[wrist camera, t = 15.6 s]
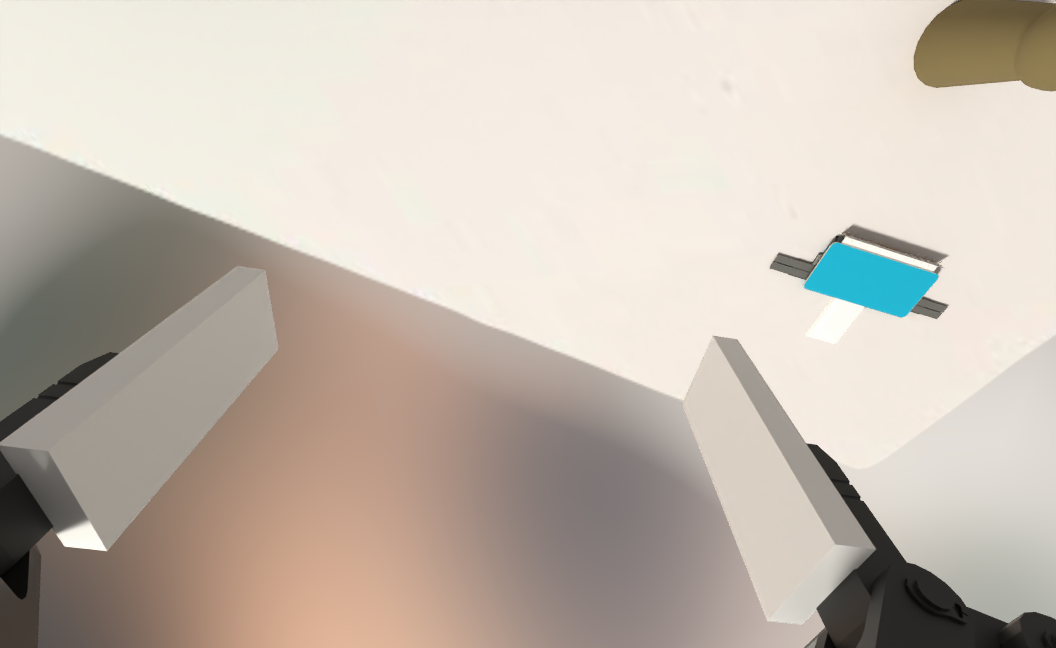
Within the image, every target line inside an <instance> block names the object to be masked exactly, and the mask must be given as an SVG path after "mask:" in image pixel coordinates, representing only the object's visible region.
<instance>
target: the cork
mask: <svg viewBox="0 0 1056 648" xmlns="http://www.w3.org/2000/svg"><path fill="white" fill-rule="evenodd" d="M914 70H915V72H916V74H917V77H918V79H919V80H920V81H922V82H923V83H924V84H925V85H928V86H932V87H936V88H939V87H950V86H962V85H973V84H984V83H996V82H1007V81H1019V80H1021V81H1022V82H1023V83H1024V84H1025V85H1027V86H1029V87H1031V88H1035V89H1039V90H1043V91H1056V4H1055V3H1042V2H1030V1H1018V0H961V1H959V2H957V3H954V4H952V5H950V6H949V7H947V8H946V9H945V10H943V11H942V12H941V13H940V14H938V15H937V16H936V17H935V18H934V19H933V21H932V22H931V23H930V24H929V25H928V26H927V27H926V29H925V31H924V32H923V34H922V36H921V38H920V40H919V41H918V44H917V47H916V51H915V54H914Z"/></svg>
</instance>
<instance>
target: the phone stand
mask: <svg viewBox="0 0 1056 648" xmlns="http://www.w3.org/2000/svg"><path fill="white" fill-rule="evenodd" d="M848 233H849V232H848ZM848 233H847V234H848ZM842 234H843V235H845V236H846V237H845V238H844V240H843V241H842V243H839V242H836V241H837V239H838V237H839V236H836V238H835V239H834V241H833V242H832V243H831V245H830V246H829V247H828V249H827V250H826V252H825V253H824V255H820V254H818V256H817V257H816V259H815V260H814V262H813V263H812V264H810V263H807V262H804V261H800V260H795V259H791V258H788V257H785V256H782V255H777V257H776V259H775V260H774V261H776V262H779V263H782V264H786V265H789V266H792V267H789V266H785V265H782V264H779V263H776V262H773V263H772V265H771V267H770V269H774V270H777V271H780V272H784V273H787V274H788V275H792V276H795V277H798V278H801V279H805V280H806V281H805V282H804V284H803V287H804V288H805V289H807V290H810V291H814V292H817V293H820V294H824V295H827V296H830V297H833V298H832V299H831V301H830V302H829V303H828V305H827V306H826V307H825V309H824V310H823V311H822V313H821V314H820V315H819V317H818V318H817V320H816V321H815V322H814V324H813V325H812V326H811V328H810V329H809V330H808V332H807V333H806V334H805V335H806V336H808V337H811V338H815V339H818V340H822V341H825V342H829V343H832V344H836V342H837V341H838V340H839V339H840V337H841V336H842V335H843V334H844V332H845V331H846V330H847V328H848V327H849V326H850V325H851V323H852V322H853V321H854V320H855V318H856V317H857V316H858V315H859V313H860V312H861V311H862V310H863V308H864V307H867V308H870V309H874V310H877V311H880V312H884V313H887V314H890V315H894V316H897V317H905V316H906V315H908V313H909V312H914V313H917V314H922V315H925V316H929V317H932V318H935V319H937V318H938V317H939V316H940V315H941V314H942V313H939V312H944V311H945V310H946V308H947V306H944V305H940V304H937V303H934V302H931V301H930V300H927V299H924V298H922V297H923V296H924V295H925V294H926V292H927V291H928V290H929V289H930V288H931V287H932V285H933V284H934V283H935V282H936V281H937V280H938V277H939V276H938V274H936V273H933V272H934V271H935V269H936V268H937V267H938V266H939V263H938V264H937V263H935V262H931V261H932V260H931V261H928V260H927V259H926V260H923V259H924V258H923V259H922V258H920V257H918V258H917V257H916V256H913V255H908V254H909V253H908V254H906V253H905V252H904V253H902V252H899V251H897V250H894V249H891V248H888V247H885V246H881V245H878V244H879V243H878V244H876V243H871V241H872V240H871V241H870V242H869V241H867V240H866V241H864V240H862V239H860V238H855V236H854V237H853V236H852V235H850V236H849V235H846V234H845V233H842ZM857 235H858V234H857ZM864 238H865V237H864ZM864 238H863V239H864ZM873 240H874V239H873ZM880 243H881V242H880ZM910 253H911V252H910ZM918 255H919V254H918ZM918 255H917V256H918ZM925 258H926V257H925ZM933 260H934V259H933ZM941 262H942V261H941ZM941 262H940V263H941ZM939 267H941V265H940V266H939ZM942 268H943V267H942ZM925 307H926V308H930V309H933V310H936V311H939V312H936V311H933V310H929V309H926V308H925Z"/></svg>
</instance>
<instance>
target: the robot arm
mask: <svg viewBox="0 0 1056 648" xmlns="http://www.w3.org/2000/svg"><path fill="white" fill-rule="evenodd" d="M277 350H278V342H277V337H276V331H275V325H274V319H273V313H272V308H271V301H270V296H269V289H268V283H267V277H266V271H265V270H262V269H255V268H248V267H241V266H236V267H235V268H234V269H233V270H231V271H230V272H229V273H227V274H226V275H224V276H223V277H222V278H220V279H219V280H218V281H217V282H215V283H214V284H212V285H211V286H210V287H208V288H207V289H206V290H204V291H203V292H202V293H200V294H199V295H197V296H196V297H195V298H193V299H192V300H191V301H189V302H188V303H187V304H186V305H184V306H183V307H182V308H180V309H179V310H177V311H176V312H175V313H173V314H172V315H171V316H169V317H168V318H167V319H165V320H164V321H163V322H161V323H160V324H158V325H157V326H156V327H155V328H153V329H152V330H150V331H149V332H148V333H146V334H145V335H144V336H142V337H141V338H140V339H138V340H137V341H136V342H134V343H133V344H132V345H130V346H129V347H128V348H126V349H125V350H124V351H122V352H121V353H112V352H109V353H107V354H105V355H102V356H100V357H98V358H96V359H93V360H91V361H89V362H86V363H84V364H82V365H80V366H79V367H77V368H76V369H74V370H73V371H71V372H70V373H69V374H67V375H66V376H64V377H63V378H62V379H60V380H59V381H58V384H57V385H54V384H53V385H52V386H50V387H49V388H47V389H46V390H44V391H43V392H42V393H40V394H39V397H38V398H37V399H36V398H33V399H32V400H30V401H29V402H27V403H26V404H25V405H23V406H22V407H20V408H19V409H18V410H16V411H15V412H13V413H12V414H10V415H9V416H8V417H6V418H5V419H3V420H2V421H1V422H0V648H38V626H39V599H40V574H41V573H40V572H41V554H40V552H39V549H38V547H37V545H36V543H37V542H38V541H39V540H40V539H41V538H42V537H43V536H44V535H45V534H46V533H47V532H48V531H49V530H50V529H51V528H53V530H54V531H55V533H56V534H57V536H58V537H59V539H60V540H61V542H62V543H63V545H64V546H66V547H76V548H85V549H94V550H104V551H107V550H108V549H109V548H110V547H111V546H112V544H113V543H114V542H115V541H116V540H117V539H118V537H119V536H120V535H121V534H122V533H123V531H124V530H125V529H126V528H127V527H128V526H129V524H130V523H131V522H132V521H133V520H134V519H135V517H136V516H137V515H138V514H139V513H140V511H141V510H142V509H143V508H144V507H145V506H146V504H147V503H148V502H149V500H151V498H152V497H153V496H154V495H155V494H156V493H157V491H158V490H159V489H160V488H161V487H162V485H163V484H164V483H165V482H166V481H167V480H168V478H169V477H170V476H171V475H172V474H173V473H174V471H175V470H176V469H177V468H178V467H179V466H180V464H181V463H182V462H183V461H184V460H185V458H186V457H187V456H188V455H189V454H190V453H191V451H192V450H193V449H194V448H195V447H196V445H197V444H198V443H199V442H200V441H201V440H202V438H203V437H204V436H205V435H206V434H207V433H208V431H209V430H210V429H211V428H212V427H213V426H214V424H215V423H216V422H217V421H218V420H219V418H220V417H221V416H222V415H223V414H224V412H225V411H226V410H227V409H228V408H229V407H230V405H231V404H232V403H233V402H234V401H235V399H236V398H237V397H238V396H239V395H240V394H241V392H242V391H243V390H244V389H245V388H246V387H247V385H248V384H249V383H250V382H251V381H252V379H253V378H254V377H255V376H256V375H257V374H258V372H259V371H260V370H261V369H262V368H263V367H264V365H265V364H266V363H267V362H268V361H269V359H270V358H271V357H272V356H273V355H274V354H275V352H276V351H277ZM682 405H683V407H684V410H685V412H686V415H687V417H688V420H689V422H690V425H691V428H692V430H693V433H694V435H695V438H696V440H697V443H698V446H699V448H700V451H701V453H702V456H703V458H704V461H705V463H706V466H707V469H708V471H709V474H710V476H711V479H712V481H713V484H714V486H715V489H716V492H717V494H718V497H719V499H720V502H721V504H722V507H723V509H724V512H725V515H726V517H727V519H728V522H729V525H730V527H731V530H732V532H733V535H734V537H735V540H736V543H737V545H738V548H739V550H740V553H741V555H742V558H743V560H744V563H745V565H746V568H747V571H748V573H749V576H750V578H751V581H752V583H753V586H754V589H755V591H756V594H757V596H758V599H759V601H760V604H761V606H762V609H763V612H764V614H765V617H766V619H767V621H772V622H782V623H792V624H801V625H802V624H803V623H804V622H805V621H806V620H807V619H808V618H809V617H810V616H811V615H812V614H813V613H814V612H815V611H816V610H818V613H819V615H820V617H821V619H822V621H823V623H824V625H825V628H824V629H823V630H822V631H821V632H820V633H819V634H818V635H817V636H816V637H815V638H814V639H813V640H812V641H811V642H810V643H809V644H808V645H806V646H805V648H1056V620H1055V619H1053V618H1051V617H1048V616H1046V615H1043V614H1040V613H1037V612H1028V613H1023V614H1022V615H1020V616H1019V617H1017V618H1016V619H1014V620H1013V621H1011V622H1010V623H1006V622H1003V621H1001V620H998V619H996V618H993V617H991V616H988V615H986V614H983V613H981V612H978V611H976V610H974V609H971V608H968V607H966V606H965V604H964V602H963V601H962V600H961V598H960V597H959V596H958V595H957V594H956V593H955V592H954V591H953V590H952V589H951V588H950V587H949V586H948V585H947V584H946V583H945V582H943V581H942V580H941V579H939V578H938V577H937V576H935V575H934V574H932V573H931V572H929V571H927V570H925V569H923V568H921V567H919V566H917V565H915V564H910V563H907V562H906V561H905V559H904V558H903V557H902V555H901V554H900V552H899V551H898V549H897V548H896V547H895V545H894V544H893V542H892V541H891V540H890V538H889V537H888V535H887V534H886V532H885V531H884V530H883V528H882V527H881V525H880V524H879V522H878V521H877V520H876V518H875V517H874V516H873V514H872V512H871V511H870V510H869V508H868V507H867V505H866V504H865V503H864V501H861V500H860V496H859V494H858V493H857V491H856V490H855V488H854V487H853V486H852V485H850V484H849V480H848V478H847V477H846V476H845V474H844V473H843V472H842V470H841V468H840V467H839V466H838V464H837V463H836V462H835V461H834V460H833V459H832V458H831V457H830V456H829V455H828V454H826V453H825V452H824V451H823V450H822V449H821V448H820V447H819V446H818V445H814V444H806V443H805V441H804V440H803V438H802V436H801V435H800V433H799V432H798V430H797V429H796V427H795V426H794V424H793V423H792V421H791V420H790V418H789V417H788V415H787V414H786V412H785V411H784V409H783V408H782V406H781V405H780V403H779V402H778V400H777V399H776V397H775V396H774V394H773V393H772V391H771V390H770V388H769V387H768V385H767V384H766V382H765V381H764V379H763V377H762V376H761V374H760V373H759V371H758V370H757V368H756V367H755V365H754V364H753V362H752V361H751V359H750V358H749V356H748V355H747V353H746V352H745V350H744V349H743V347H742V346H741V344H740V343H739V341H738V340H737V339H731V338H724V337H717V336H713V337H712V339H711V341H710V343H709V346H708V348H707V350H706V352H705V354H704V357H703V359H702V361H701V363H700V366H699V368H698V370H697V372H696V374H695V377H694V379H693V381H692V383H691V385H690V388H689V390H688V392H687V394H686V397H685V399H684V401H683V403H682Z"/></svg>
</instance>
